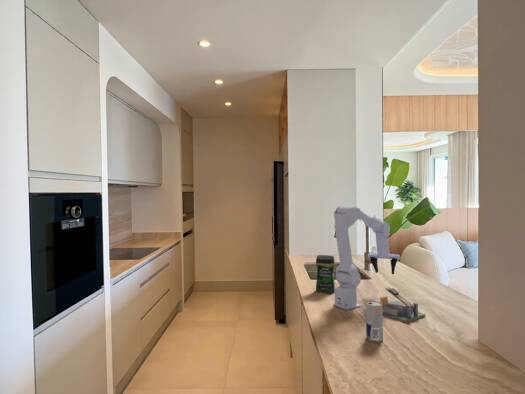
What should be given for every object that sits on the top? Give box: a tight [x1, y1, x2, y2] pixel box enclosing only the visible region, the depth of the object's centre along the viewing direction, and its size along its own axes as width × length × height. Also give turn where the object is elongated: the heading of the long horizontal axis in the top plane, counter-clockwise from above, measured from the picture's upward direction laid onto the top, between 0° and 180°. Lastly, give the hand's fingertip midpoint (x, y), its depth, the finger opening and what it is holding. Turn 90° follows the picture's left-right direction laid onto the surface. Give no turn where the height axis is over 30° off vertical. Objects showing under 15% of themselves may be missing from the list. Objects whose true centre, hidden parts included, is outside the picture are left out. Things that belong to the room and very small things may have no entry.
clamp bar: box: [385, 287, 415, 309], centre depth 130 cm, size 13×3×1 cm, turn 30°
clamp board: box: [379, 295, 426, 324], centre depth 131 cm, size 12×16×6 cm
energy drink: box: [365, 300, 384, 343], centre depth 108 cm, size 5×5×12 cm
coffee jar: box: [315, 254, 336, 294], centre depth 163 cm, size 10×8×19 cm
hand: (384, 272), depth 156 cm, fingers open, 7 cm apart
